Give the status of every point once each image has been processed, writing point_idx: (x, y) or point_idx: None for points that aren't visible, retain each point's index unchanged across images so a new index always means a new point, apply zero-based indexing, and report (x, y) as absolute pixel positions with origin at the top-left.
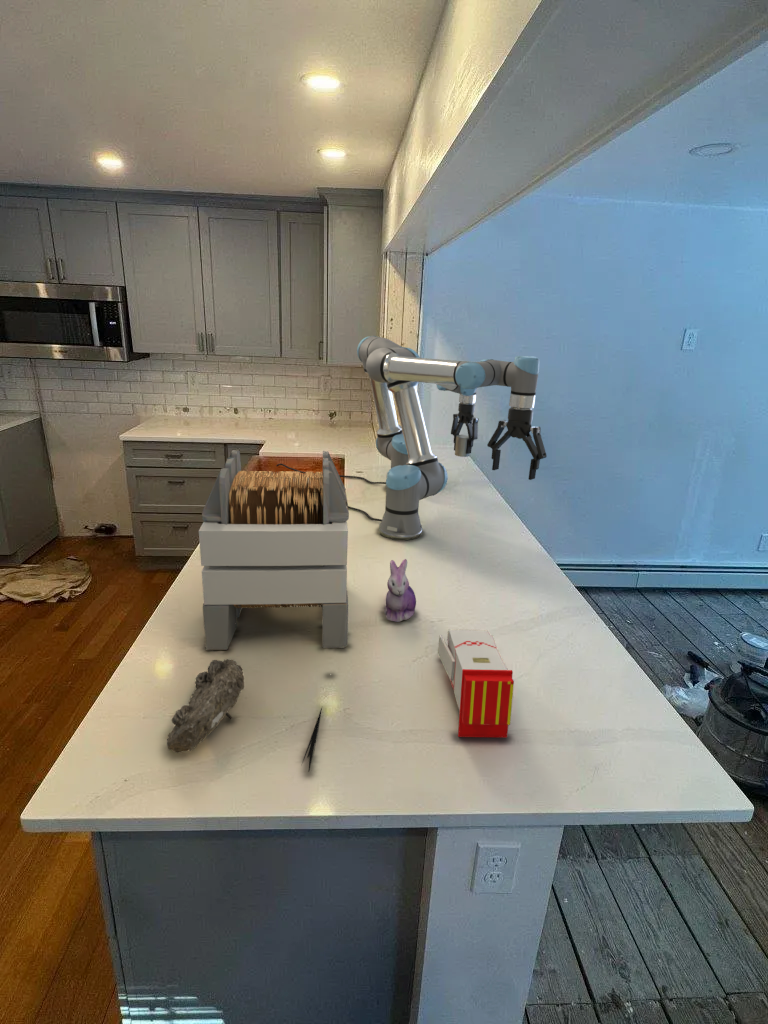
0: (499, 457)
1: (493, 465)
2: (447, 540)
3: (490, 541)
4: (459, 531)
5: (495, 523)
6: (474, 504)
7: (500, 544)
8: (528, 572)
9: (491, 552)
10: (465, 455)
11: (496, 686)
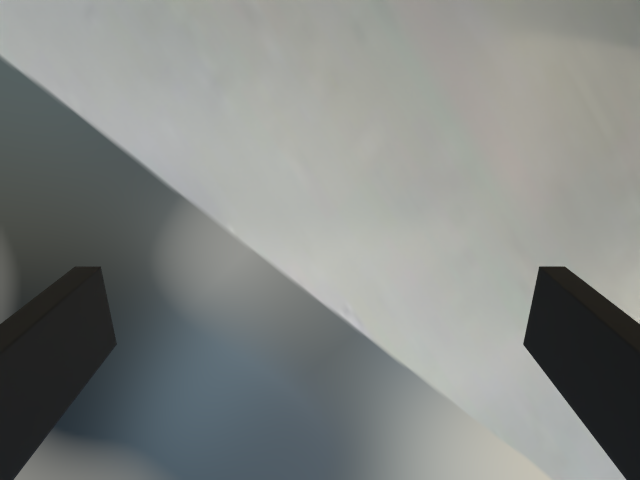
0: (605, 438)
1: (584, 292)
2: (530, 45)
3: (394, 179)
4: (538, 169)
5: (471, 334)
6: None
7: (352, 184)
8: (129, 36)
9: (332, 88)
10: None
11: None
